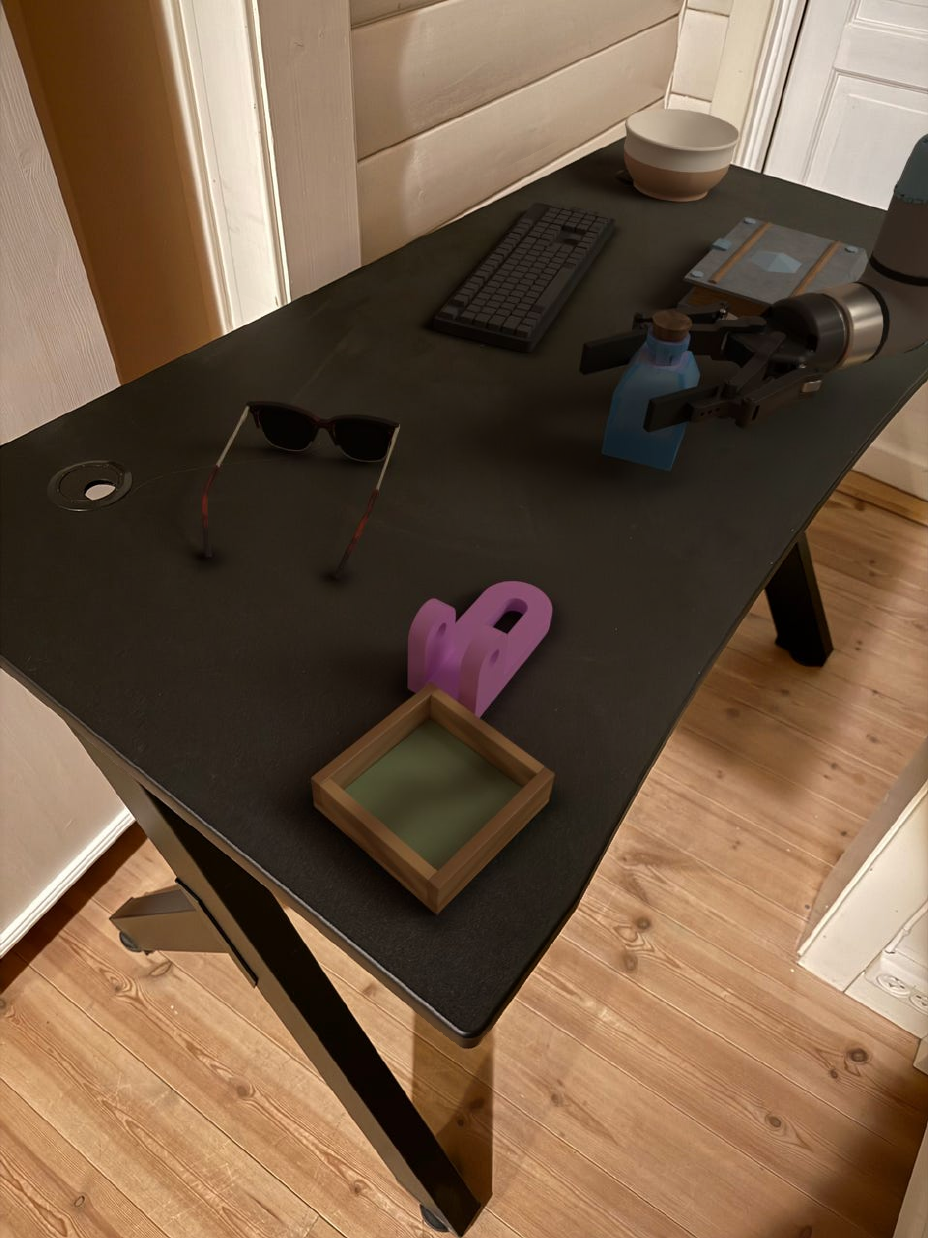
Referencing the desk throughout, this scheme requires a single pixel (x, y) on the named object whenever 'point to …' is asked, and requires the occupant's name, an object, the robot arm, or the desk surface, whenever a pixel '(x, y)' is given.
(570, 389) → the desk surface
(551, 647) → the desk surface
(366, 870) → the desk surface
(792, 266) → the book
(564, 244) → the keyboard
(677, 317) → the blue bottle with cork
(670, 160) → the bowl
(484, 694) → the bracket
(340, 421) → the sunglasses
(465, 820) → the holder
